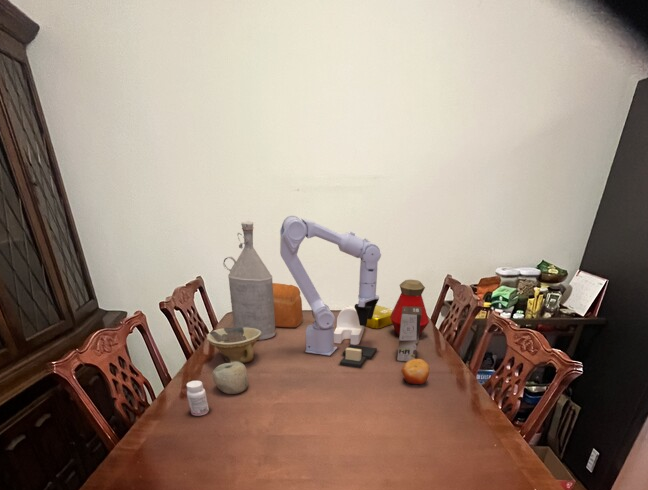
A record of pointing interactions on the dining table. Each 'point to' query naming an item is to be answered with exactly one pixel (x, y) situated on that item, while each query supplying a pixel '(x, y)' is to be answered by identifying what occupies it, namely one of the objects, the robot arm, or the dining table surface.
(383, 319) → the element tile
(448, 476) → the dining table surface
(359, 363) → the loose pad
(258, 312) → the grey jug
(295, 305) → the bread
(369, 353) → the base pad
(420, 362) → the fruit
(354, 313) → the white slotted holder
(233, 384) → the stone
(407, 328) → the coffee box
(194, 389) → the pill bottle
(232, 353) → the bowl
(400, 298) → the bottle
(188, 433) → the dining table surface
